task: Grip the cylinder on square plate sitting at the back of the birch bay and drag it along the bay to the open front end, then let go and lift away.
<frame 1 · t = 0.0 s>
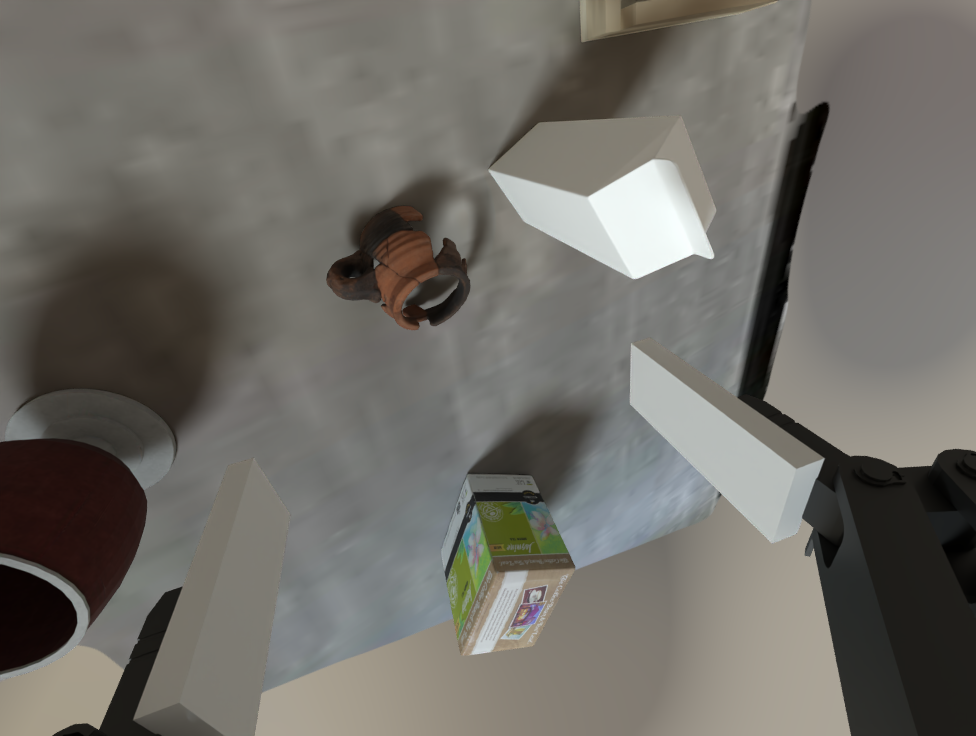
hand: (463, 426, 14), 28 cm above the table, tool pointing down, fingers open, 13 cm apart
pottery mug: (396, 262, 39), on the table
milk: (530, 174, 38), on the table
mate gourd: (100, 436, 39), on the table
tea box: (483, 512, 59), on the table
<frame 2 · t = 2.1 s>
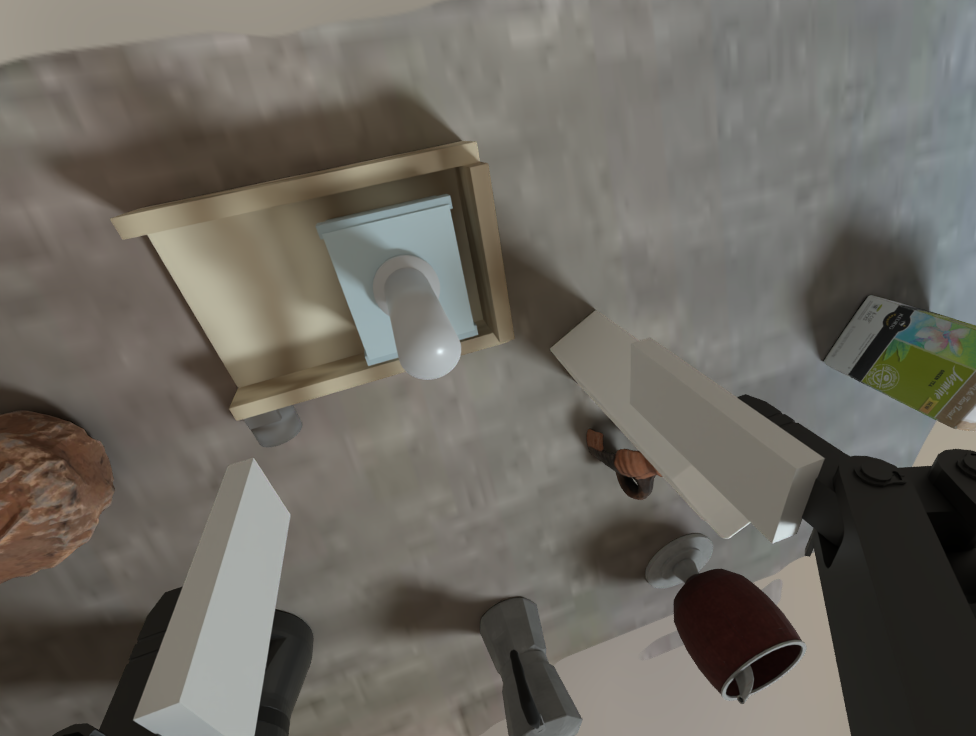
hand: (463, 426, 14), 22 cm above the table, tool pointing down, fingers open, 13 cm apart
pottery mug: (620, 433, 51), on the table
milk: (585, 347, 43), on the table
cylinder on square plate: (410, 299, 26), point 9 cm above the table, slide at 0.0 cm
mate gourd: (674, 558, 68), on the table
bay: (347, 275, 33), on the table
tea box: (874, 337, 56), on the table
decorative rock: (42, 456, 33), on the table
coffeepot: (505, 611, 62), on the table
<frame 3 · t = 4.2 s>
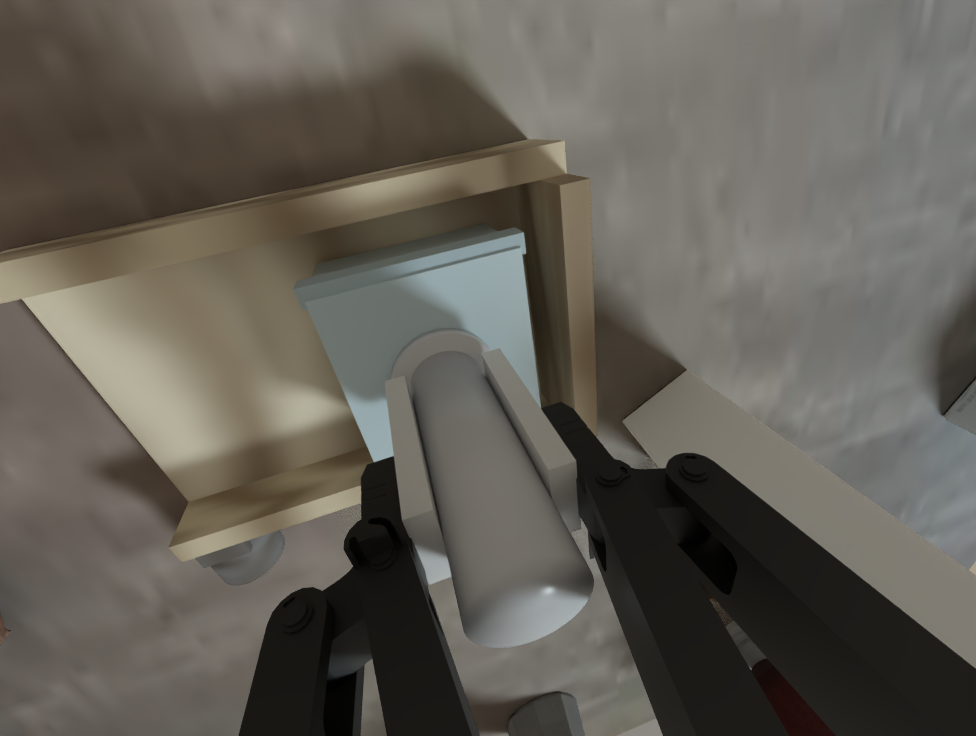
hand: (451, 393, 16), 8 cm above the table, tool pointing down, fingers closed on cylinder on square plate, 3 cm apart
milk: (666, 415, 32), on the table
cylinder on square plate: (457, 410, 15), point 9 cm above the table, slide at 0.0 cm, touching gripper
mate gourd: (734, 635, 58), on the table
bay: (349, 340, 22), on the table
coffeepot: (538, 707, 51), on the table
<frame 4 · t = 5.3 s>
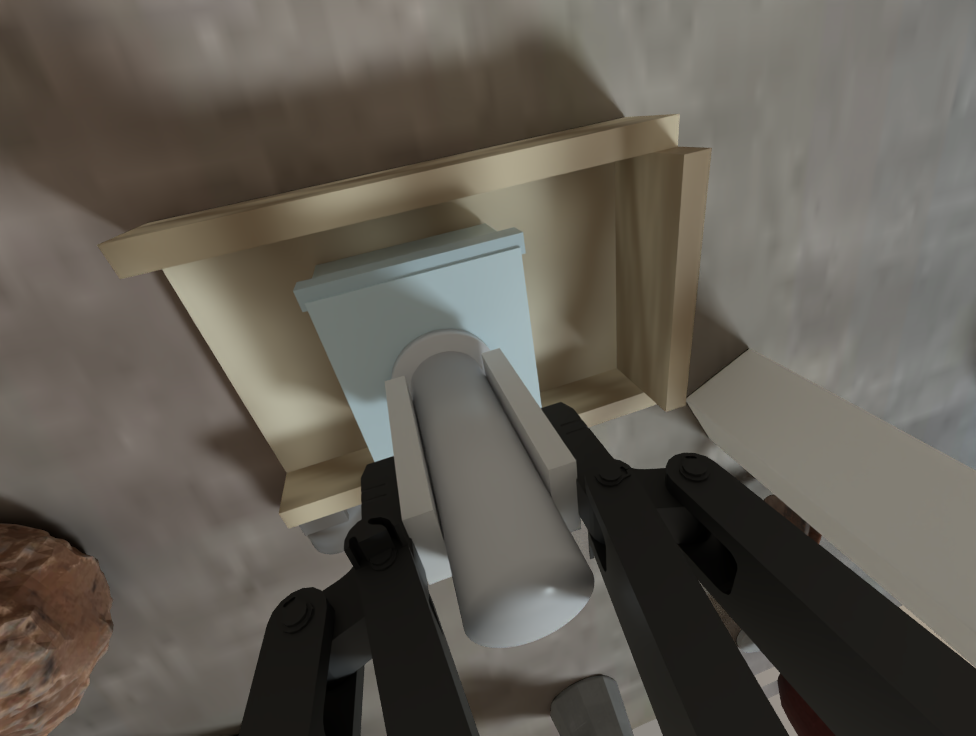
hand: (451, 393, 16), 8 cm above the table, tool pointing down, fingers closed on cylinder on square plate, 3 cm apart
pottery mug: (736, 492, 40), on the table
milk: (726, 394, 33), on the table
cylinder on square plate: (457, 410, 15), point 9 cm above the table, slide at 5.2 cm, touching gripper
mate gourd: (769, 620, 58), on the table
bay: (444, 315, 23), on the table
decorative rock: (11, 571, 23), on the table
coffeepot: (579, 690, 52), on the table
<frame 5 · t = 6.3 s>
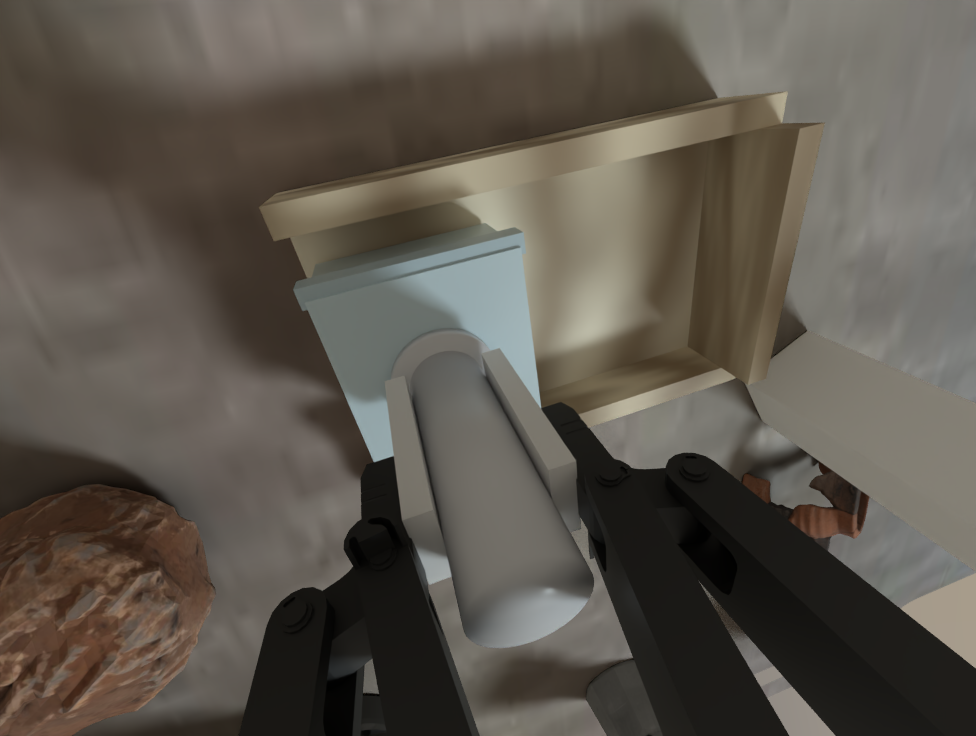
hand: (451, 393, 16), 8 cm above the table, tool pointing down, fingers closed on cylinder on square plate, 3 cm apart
pottery mug: (777, 475, 41), on the table
milk: (780, 376, 33), on the table
cylinder on square plate: (457, 410, 15), point 9 cm above the table, slide at 10.4 cm, touching gripper
bay: (533, 290, 23), on the table
decorative rock: (109, 537, 24), on the table
coffeepot: (615, 674, 53), on the table
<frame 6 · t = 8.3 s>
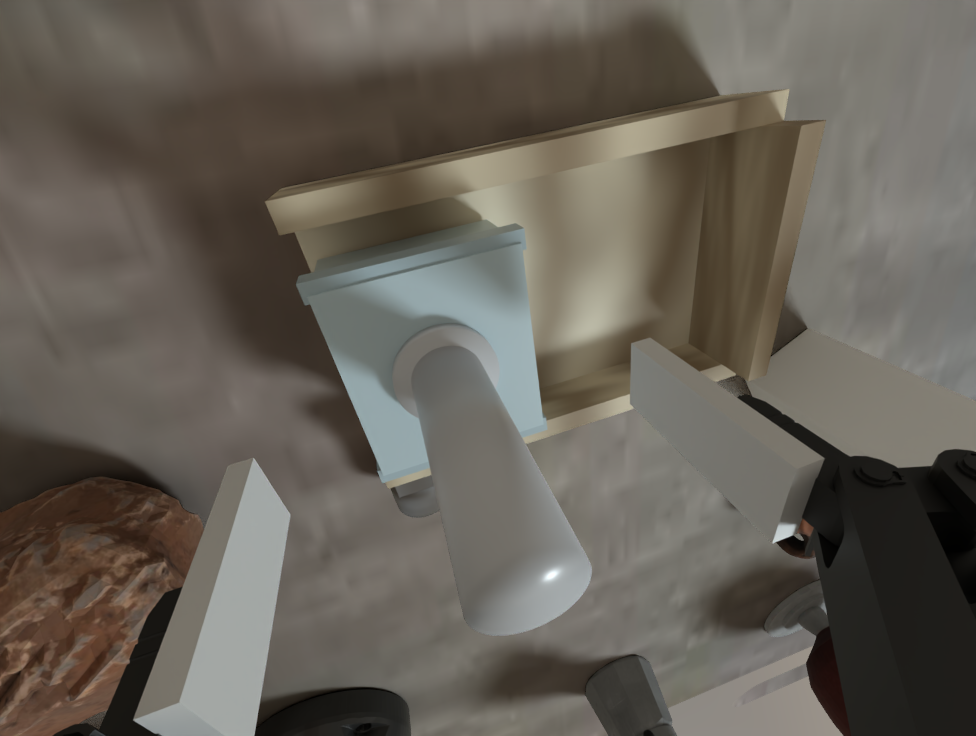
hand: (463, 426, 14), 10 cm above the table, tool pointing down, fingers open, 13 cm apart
pottery mug: (771, 472, 41), on the table
milk: (781, 374, 34), on the table
cylinder on square plate: (457, 404, 15), point 9 cm above the table, slide at 10.5 cm
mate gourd: (797, 604, 60), on the table
bay: (535, 286, 24), on the table
decorative rock: (114, 530, 24), on the table
coffeepot: (614, 670, 53), on the table
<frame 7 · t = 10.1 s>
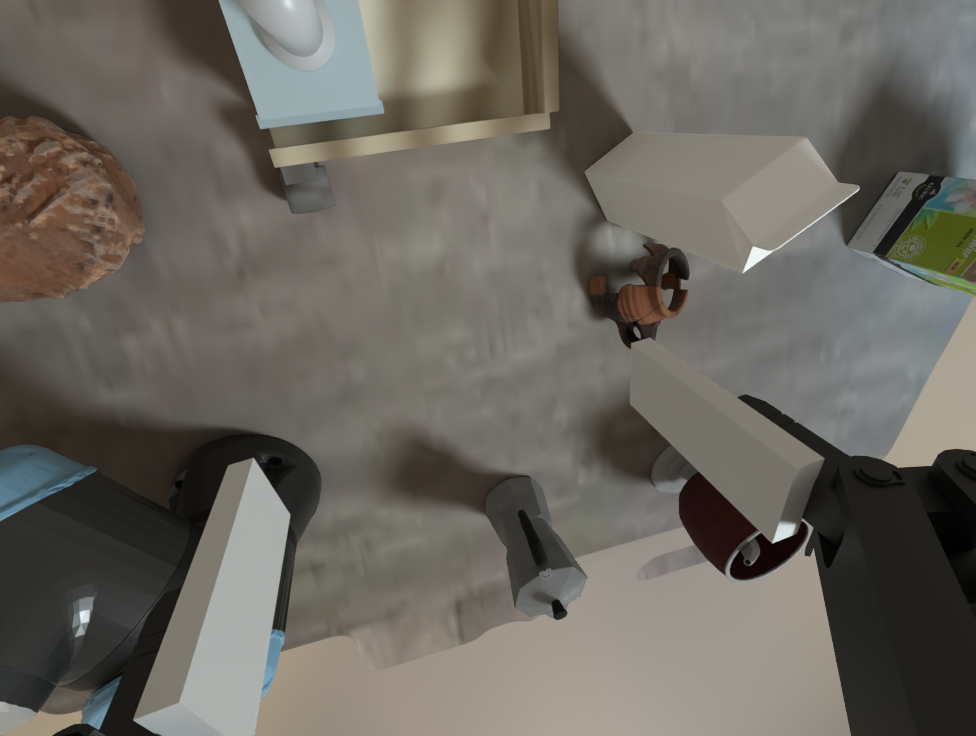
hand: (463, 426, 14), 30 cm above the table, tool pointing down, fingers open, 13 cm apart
pottery mug: (624, 288, 49), on the table
milk: (618, 178, 42), on the table
cylinder on square plate: (292, 20, 24), point 9 cm above the table, slide at 10.5 cm
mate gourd: (680, 461, 68), on the table
bay: (394, 36, 32), on the table
tea box: (898, 227, 56), on the table
decorative rock: (72, 200, 32), on the table
coffeepot: (511, 492, 62), on the table
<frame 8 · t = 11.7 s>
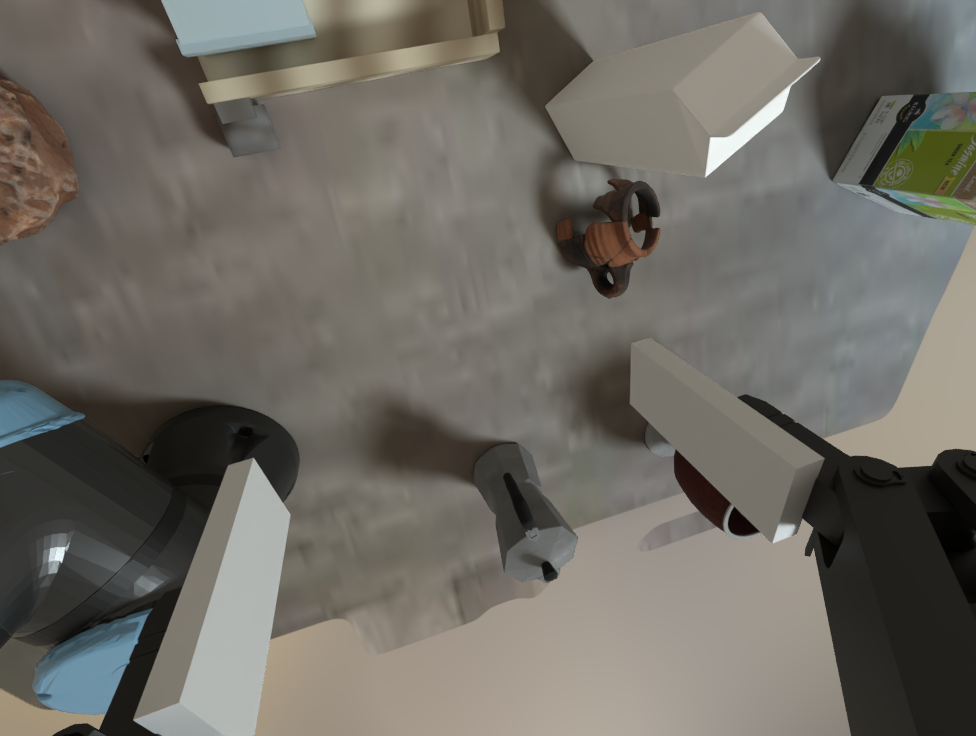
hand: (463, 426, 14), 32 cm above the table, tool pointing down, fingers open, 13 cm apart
pottery mug: (595, 234, 47), on the table
milk: (582, 113, 41), on the table
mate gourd: (674, 422, 66), on the table
tea box: (885, 159, 53), on the table
decorative rock: (2, 154, 31), on the table
coffeepot: (499, 461, 60), on the table
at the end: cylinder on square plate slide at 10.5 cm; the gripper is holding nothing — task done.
